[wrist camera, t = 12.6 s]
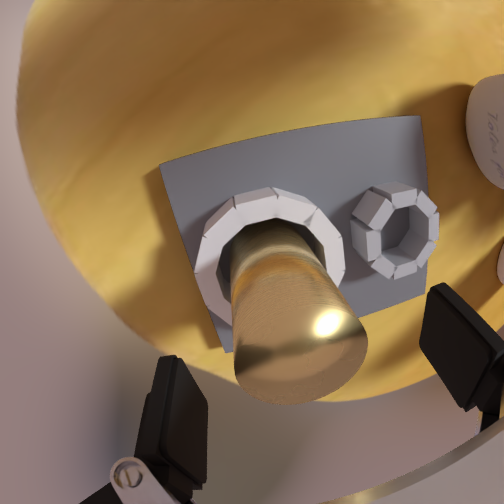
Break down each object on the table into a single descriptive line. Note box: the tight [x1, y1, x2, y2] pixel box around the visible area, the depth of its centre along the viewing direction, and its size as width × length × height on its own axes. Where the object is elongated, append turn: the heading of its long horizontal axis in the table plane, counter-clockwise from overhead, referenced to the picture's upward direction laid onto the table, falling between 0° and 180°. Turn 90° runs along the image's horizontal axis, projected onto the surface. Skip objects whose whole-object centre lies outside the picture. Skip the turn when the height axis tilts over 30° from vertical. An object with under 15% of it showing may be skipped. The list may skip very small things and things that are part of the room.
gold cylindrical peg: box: [229, 218, 368, 405], centre depth 14 cm, size 5×5×10 cm
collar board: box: [159, 116, 439, 353], centre depth 18 cm, size 15×18×4 cm
